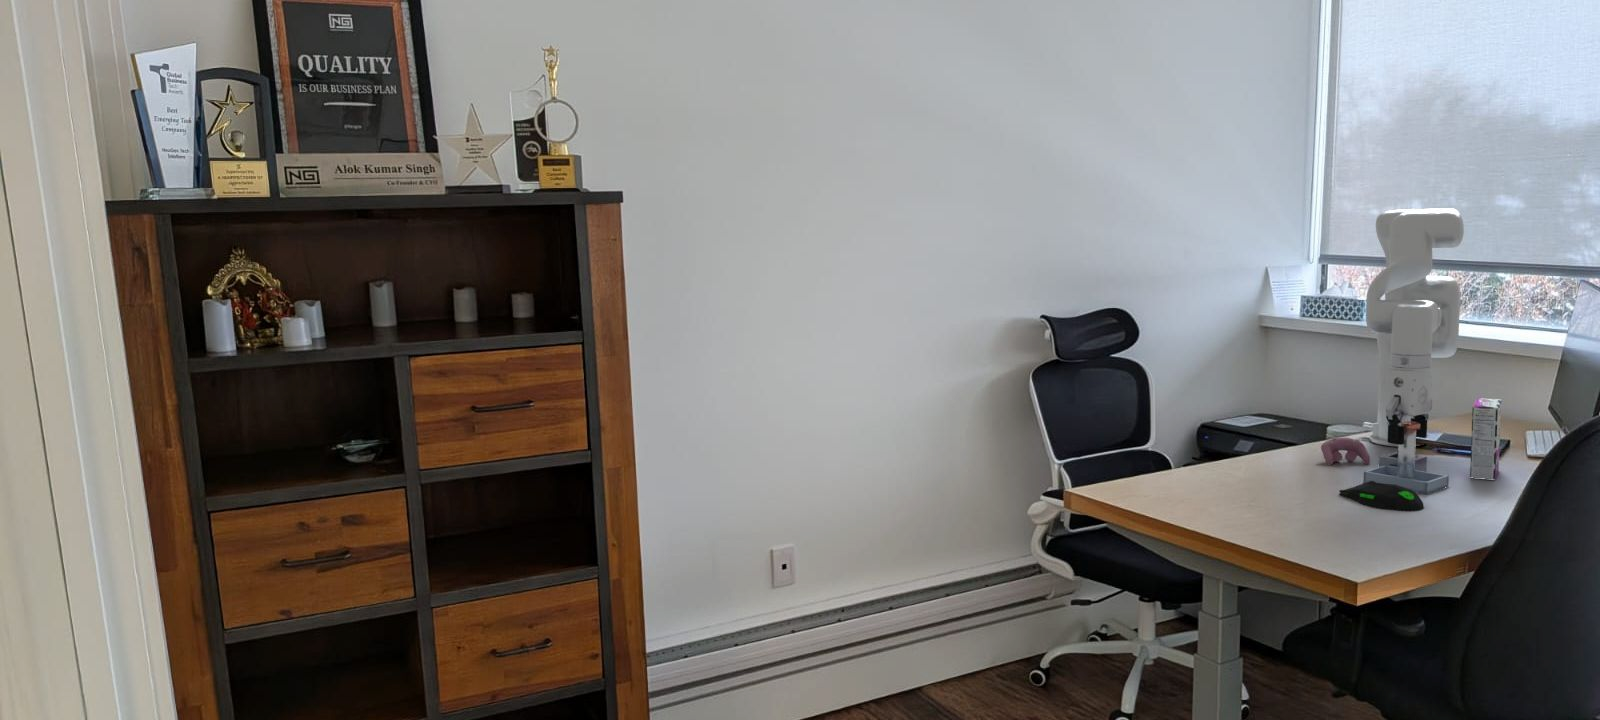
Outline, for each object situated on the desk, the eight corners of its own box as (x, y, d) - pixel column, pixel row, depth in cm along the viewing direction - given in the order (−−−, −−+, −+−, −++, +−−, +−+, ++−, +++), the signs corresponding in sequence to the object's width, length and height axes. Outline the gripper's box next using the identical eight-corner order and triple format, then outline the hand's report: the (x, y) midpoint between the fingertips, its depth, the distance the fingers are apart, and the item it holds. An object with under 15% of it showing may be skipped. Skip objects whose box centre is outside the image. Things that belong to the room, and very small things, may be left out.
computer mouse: (1391, 516, 203) (1392, 496, 202) (1326, 496, 219) (1327, 478, 218) (1436, 510, 206) (1437, 490, 206) (1370, 490, 222) (1370, 472, 221)
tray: (1363, 482, 226) (1363, 471, 226) (1384, 475, 232) (1385, 465, 231) (1427, 494, 216) (1427, 482, 215) (1448, 487, 221) (1448, 475, 220)
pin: (1389, 481, 224) (1391, 423, 223) (1399, 478, 227) (1402, 420, 225) (1411, 485, 221) (1413, 426, 219) (1421, 482, 223) (1424, 423, 221)
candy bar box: (1472, 467, 236) (1476, 397, 234) (1498, 470, 233) (1502, 399, 231) (1468, 478, 227) (1471, 405, 225) (1495, 481, 224) (1499, 407, 222)
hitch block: (1378, 473, 234) (1378, 456, 233) (1393, 468, 237) (1394, 451, 237) (1410, 479, 228) (1411, 461, 227) (1426, 474, 232) (1426, 456, 231)
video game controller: (1364, 467, 245) (1359, 439, 248) (1372, 463, 241) (1367, 434, 243) (1321, 468, 246) (1316, 440, 249) (1328, 464, 242) (1324, 435, 244)
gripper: (1408, 367, 212) (1405, 449, 214) (1448, 359, 222) (1445, 437, 224) (1371, 364, 218) (1368, 443, 221) (1412, 356, 228) (1408, 432, 230)
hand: (1407, 440), depth 222 cm, fingers open, 9 cm apart
